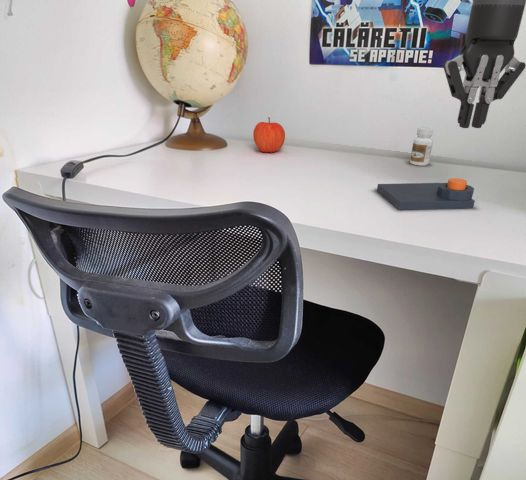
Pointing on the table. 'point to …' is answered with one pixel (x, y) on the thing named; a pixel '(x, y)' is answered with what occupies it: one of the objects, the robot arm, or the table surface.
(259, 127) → the apple
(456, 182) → the button
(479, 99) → the robot arm
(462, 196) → the grey button base
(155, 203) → the table surface
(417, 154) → the pill bottle
